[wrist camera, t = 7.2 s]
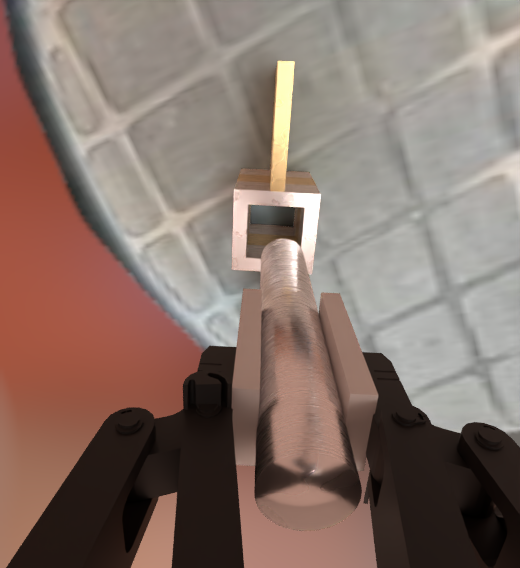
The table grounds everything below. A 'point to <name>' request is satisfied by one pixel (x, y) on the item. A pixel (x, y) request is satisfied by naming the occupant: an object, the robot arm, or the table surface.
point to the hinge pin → (299, 405)
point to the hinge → (275, 191)
